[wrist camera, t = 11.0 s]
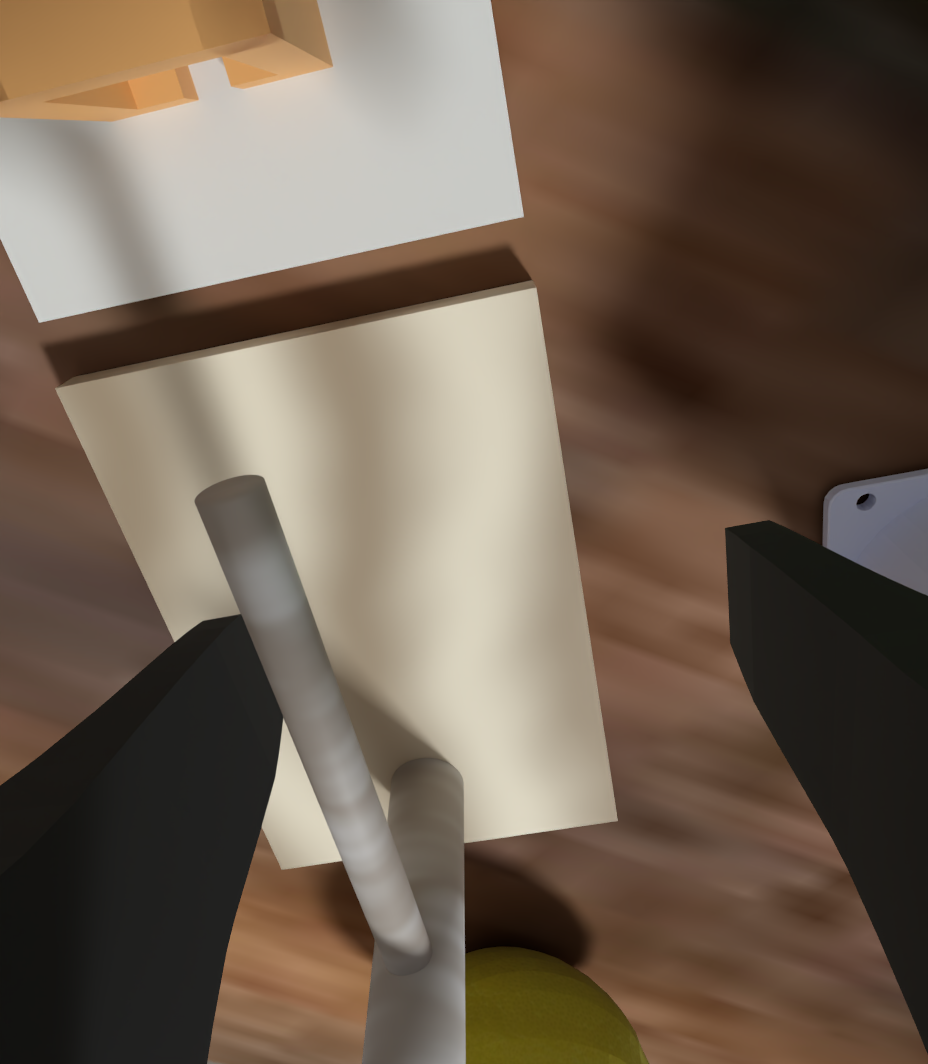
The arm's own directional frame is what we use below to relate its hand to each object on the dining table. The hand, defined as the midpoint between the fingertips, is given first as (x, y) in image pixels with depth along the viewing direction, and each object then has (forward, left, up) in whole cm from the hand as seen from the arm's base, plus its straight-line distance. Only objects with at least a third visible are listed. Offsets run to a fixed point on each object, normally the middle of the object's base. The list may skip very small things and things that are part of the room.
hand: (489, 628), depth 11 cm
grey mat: (+4, -9, -10) cm, 14 cm away
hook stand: (+4, +6, -10) cm, 12 cm away
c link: (+4, -9, -10) cm, 14 cm away
